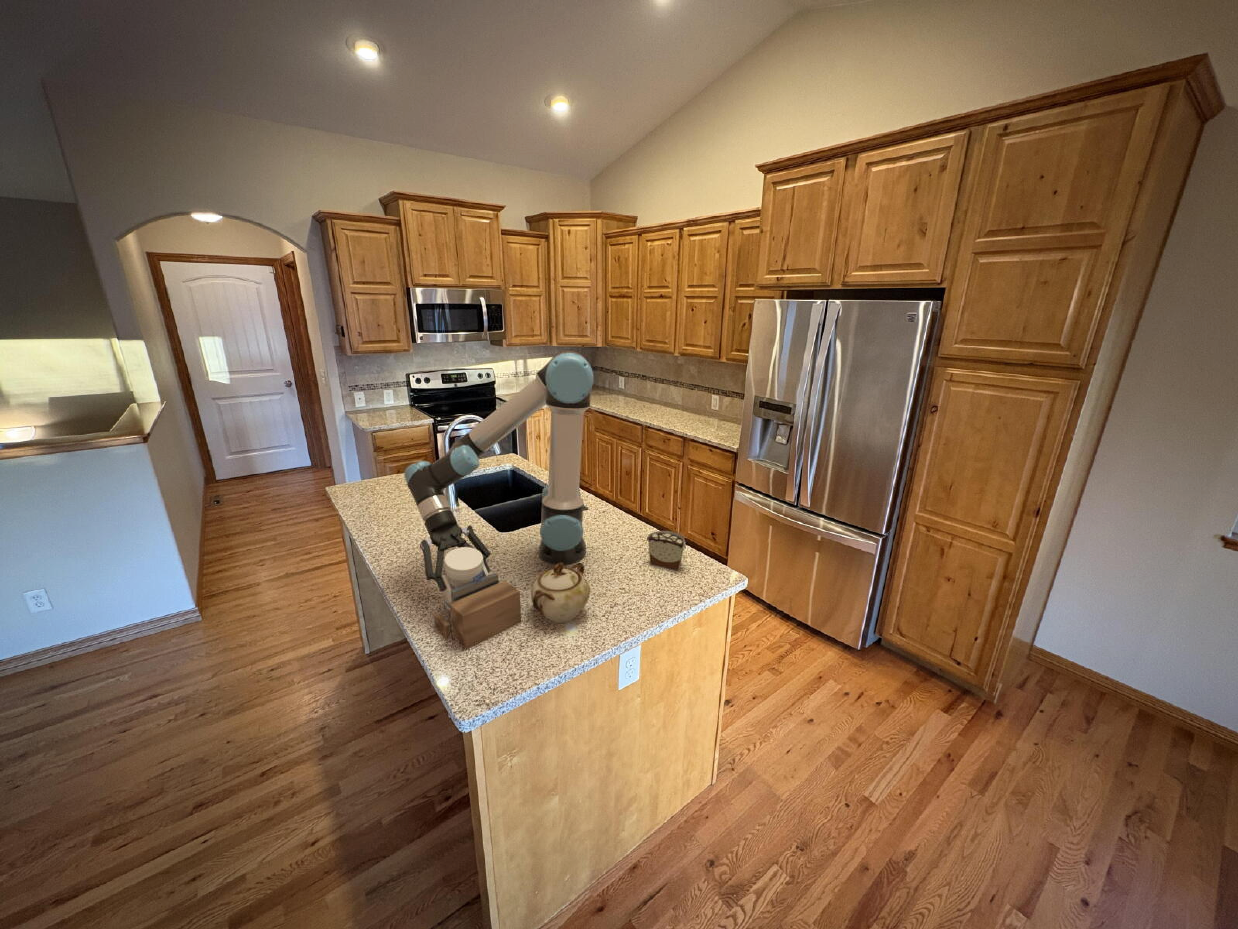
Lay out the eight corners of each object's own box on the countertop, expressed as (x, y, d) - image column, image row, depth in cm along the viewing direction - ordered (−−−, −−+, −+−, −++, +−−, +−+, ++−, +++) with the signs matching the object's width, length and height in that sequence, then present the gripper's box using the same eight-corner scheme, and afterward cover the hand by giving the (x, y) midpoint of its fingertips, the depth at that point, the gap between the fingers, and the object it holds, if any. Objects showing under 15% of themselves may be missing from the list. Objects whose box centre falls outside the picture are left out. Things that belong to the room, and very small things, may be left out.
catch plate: (453, 624, 119) (449, 589, 116) (496, 605, 127) (493, 571, 124) (457, 628, 117) (453, 592, 114) (500, 608, 125) (498, 574, 122)
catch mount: (435, 626, 119) (431, 595, 117) (499, 598, 131) (497, 569, 129) (460, 652, 111) (456, 619, 108) (526, 619, 123) (524, 589, 120)
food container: (689, 564, 151) (691, 535, 147) (683, 573, 145) (685, 543, 142) (652, 555, 155) (653, 527, 152) (645, 564, 150) (646, 534, 147)
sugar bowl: (559, 645, 114) (557, 589, 109) (512, 623, 121) (509, 570, 117) (605, 604, 130) (606, 554, 125) (562, 587, 137) (561, 539, 132)
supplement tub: (481, 615, 124) (482, 571, 117) (442, 616, 122) (441, 571, 115) (483, 589, 132) (484, 546, 126) (446, 589, 130) (446, 546, 123)
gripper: (472, 511, 137) (505, 581, 132) (392, 534, 123) (425, 615, 117) (480, 499, 132) (514, 572, 126) (397, 522, 117) (432, 606, 112)
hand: (471, 593), depth 122 cm, fingers closed on supplement tub, 9 cm apart
